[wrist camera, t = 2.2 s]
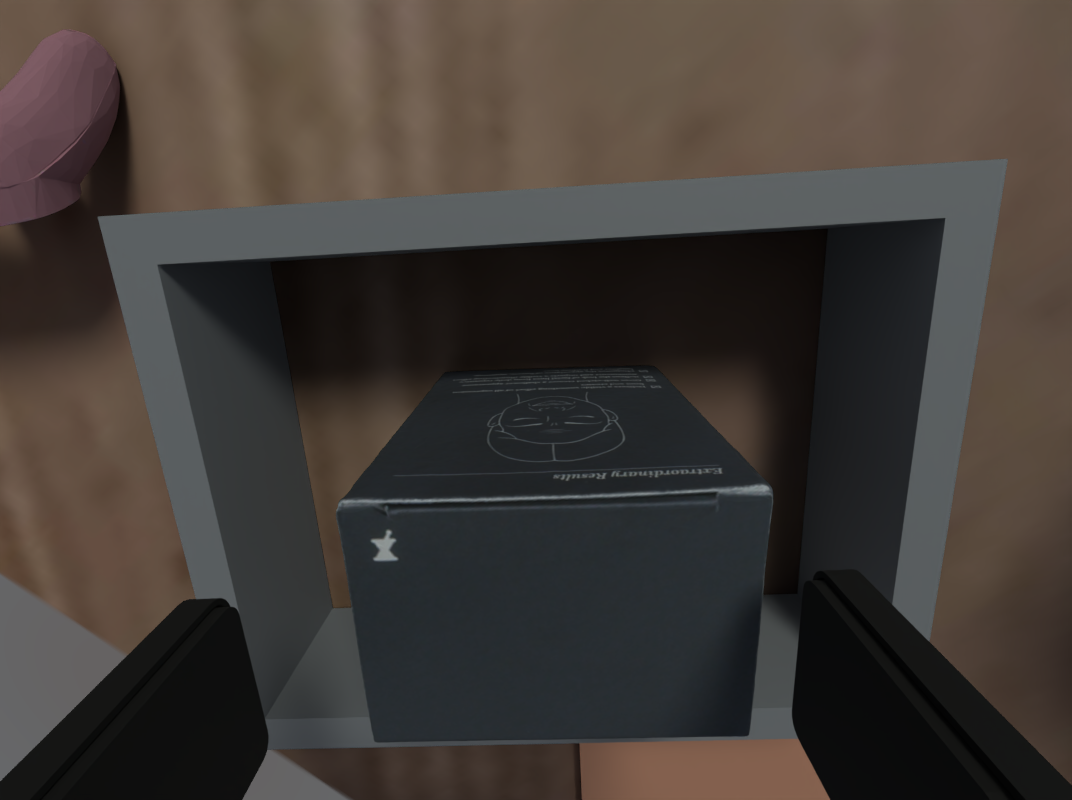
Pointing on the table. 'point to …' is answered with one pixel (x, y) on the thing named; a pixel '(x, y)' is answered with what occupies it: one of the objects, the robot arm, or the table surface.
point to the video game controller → (54, 124)
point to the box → (557, 563)
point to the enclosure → (535, 220)
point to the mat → (699, 771)
